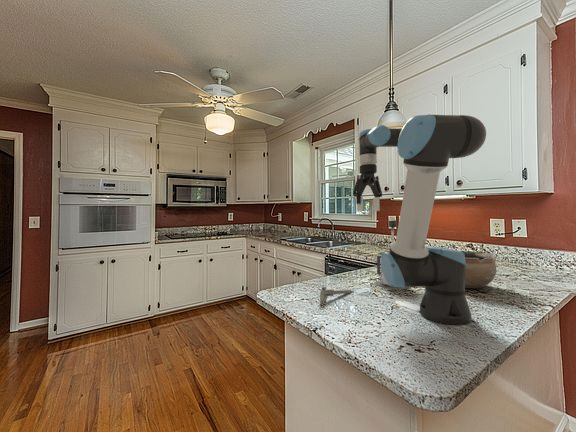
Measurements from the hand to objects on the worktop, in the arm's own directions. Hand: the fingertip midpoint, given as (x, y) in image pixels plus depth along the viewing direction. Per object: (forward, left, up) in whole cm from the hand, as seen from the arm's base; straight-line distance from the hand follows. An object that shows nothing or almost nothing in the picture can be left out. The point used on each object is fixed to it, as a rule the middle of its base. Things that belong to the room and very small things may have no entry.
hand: (368, 211), depth 124 cm
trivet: (-6, -10, -35) cm, 37 cm away
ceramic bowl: (-28, -36, -36) cm, 58 cm away
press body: (-4, -10, -34) cm, 36 cm away
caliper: (0, +21, -36) cm, 41 cm away
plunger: (-6, -10, -22) cm, 25 cm away
